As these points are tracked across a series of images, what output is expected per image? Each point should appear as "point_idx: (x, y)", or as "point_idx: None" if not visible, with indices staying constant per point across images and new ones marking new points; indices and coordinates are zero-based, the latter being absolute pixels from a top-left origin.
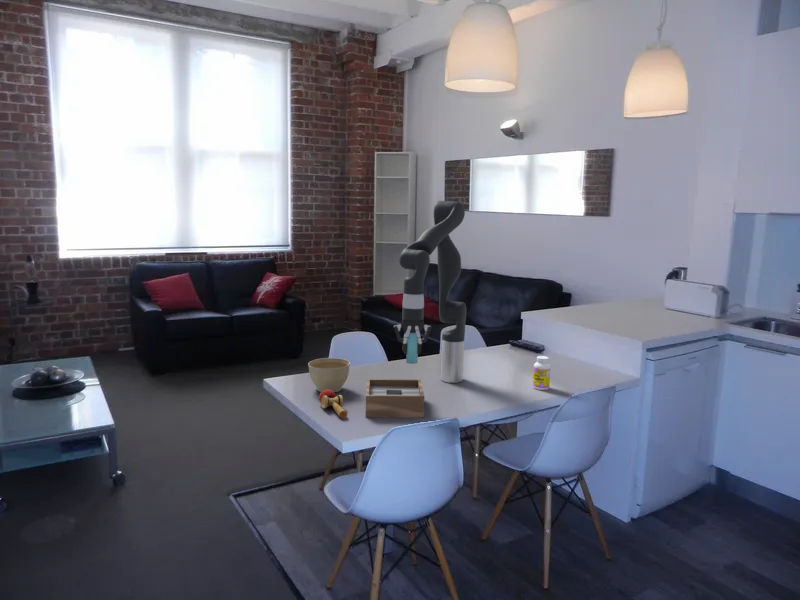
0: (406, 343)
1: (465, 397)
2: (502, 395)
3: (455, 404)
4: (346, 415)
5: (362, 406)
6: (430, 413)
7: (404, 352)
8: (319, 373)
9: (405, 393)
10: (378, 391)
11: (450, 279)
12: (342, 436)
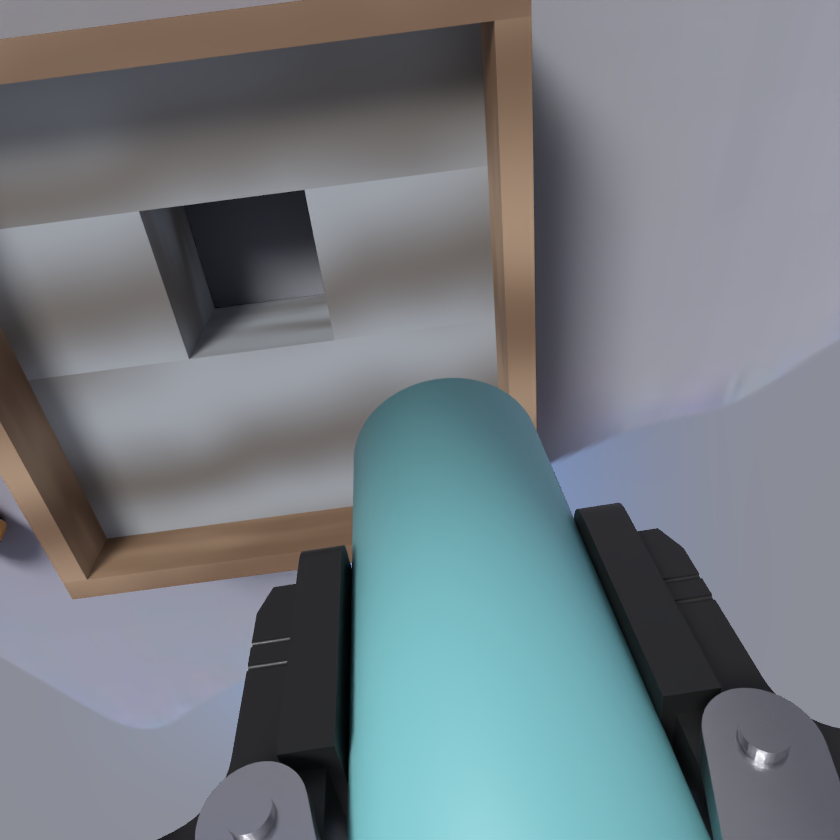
0: (343, 798)
1: None
2: None
3: (799, 120)
4: (5, 530)
5: None
6: (555, 363)
7: (303, 554)
8: None
9: (359, 296)
10: (76, 280)
11: None
12: (118, 705)
